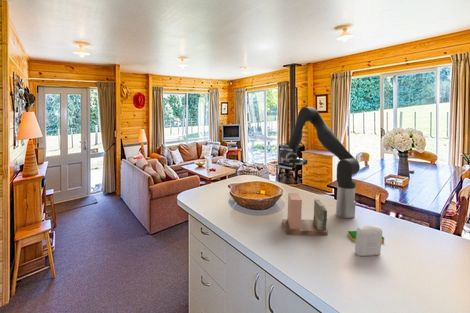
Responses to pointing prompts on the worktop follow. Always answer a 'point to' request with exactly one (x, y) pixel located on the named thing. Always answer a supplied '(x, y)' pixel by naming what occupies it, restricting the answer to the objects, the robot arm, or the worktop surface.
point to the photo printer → (368, 240)
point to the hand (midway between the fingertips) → (296, 163)
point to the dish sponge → (353, 235)
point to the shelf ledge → (311, 222)
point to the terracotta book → (294, 210)
